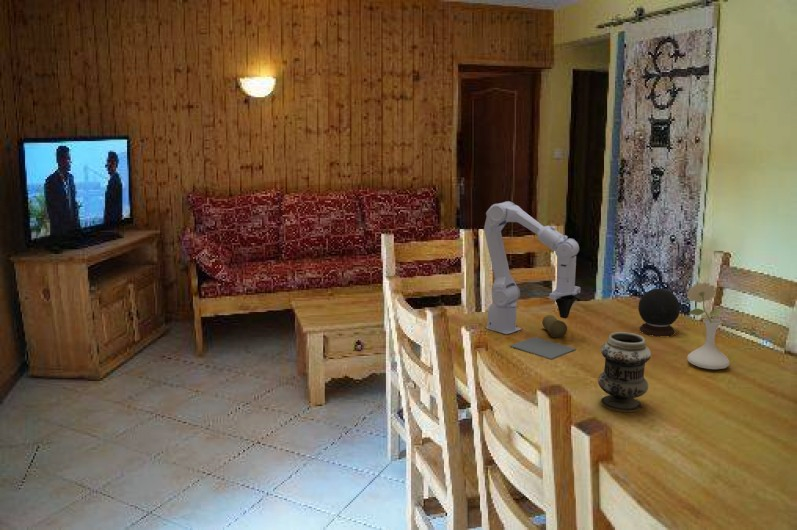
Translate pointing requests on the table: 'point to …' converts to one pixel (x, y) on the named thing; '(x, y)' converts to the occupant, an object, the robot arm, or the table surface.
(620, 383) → the apothecary jar
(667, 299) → the black ball on stand
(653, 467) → the table surface
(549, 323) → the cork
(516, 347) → the topple mat
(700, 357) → the flower in vase
